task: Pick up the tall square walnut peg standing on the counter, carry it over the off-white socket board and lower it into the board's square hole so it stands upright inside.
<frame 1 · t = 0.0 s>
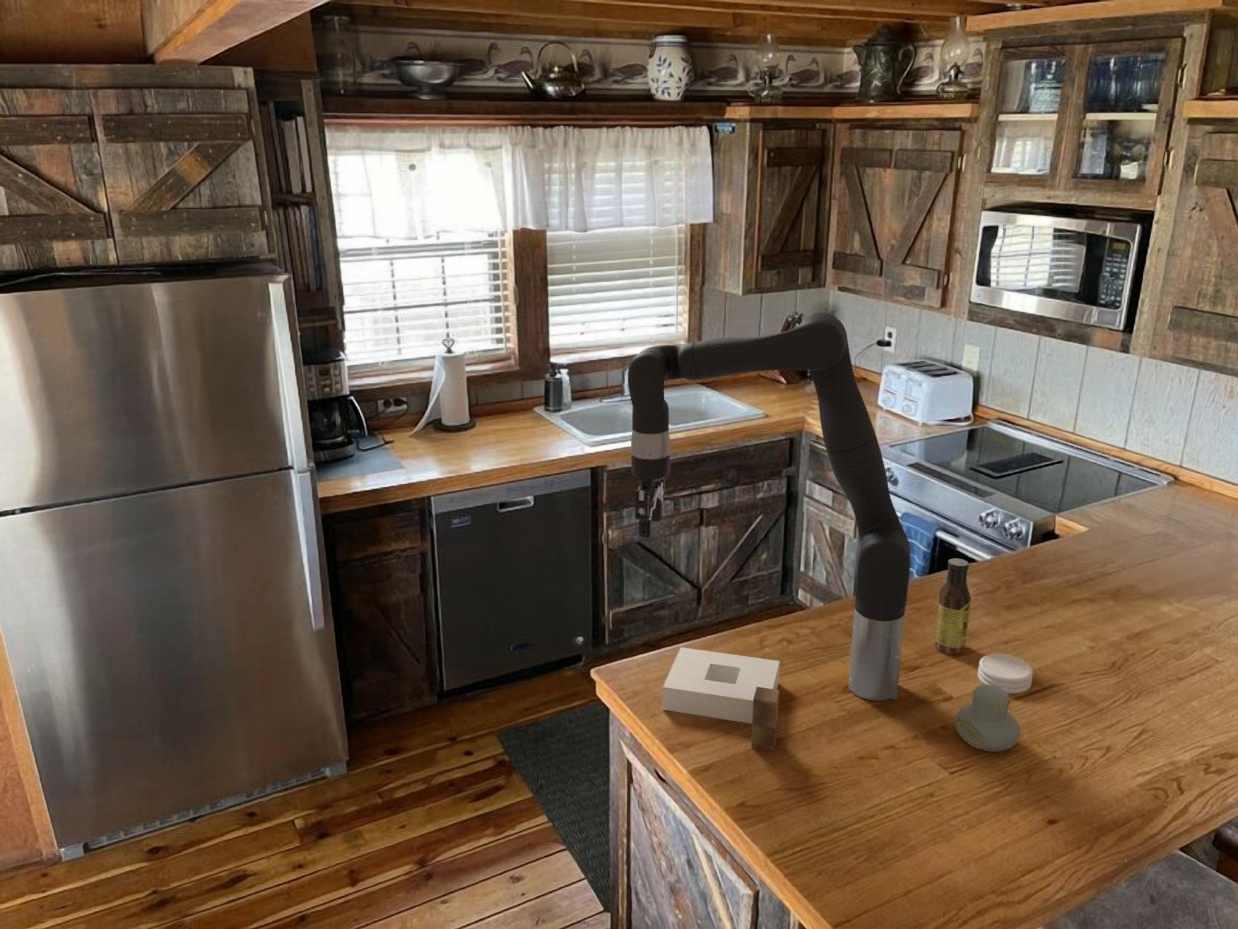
hand: (650, 528, 185), 29 cm above the counter, tool pointing down, fingers open, 8 cm apart
peg: (764, 742, 167), on the counter
air freshener: (985, 742, 167), on the counter
socket board: (721, 696, 181), on the counter
coaster: (1003, 681, 185), on the counter
sauce bottle: (949, 648, 197), on the counter
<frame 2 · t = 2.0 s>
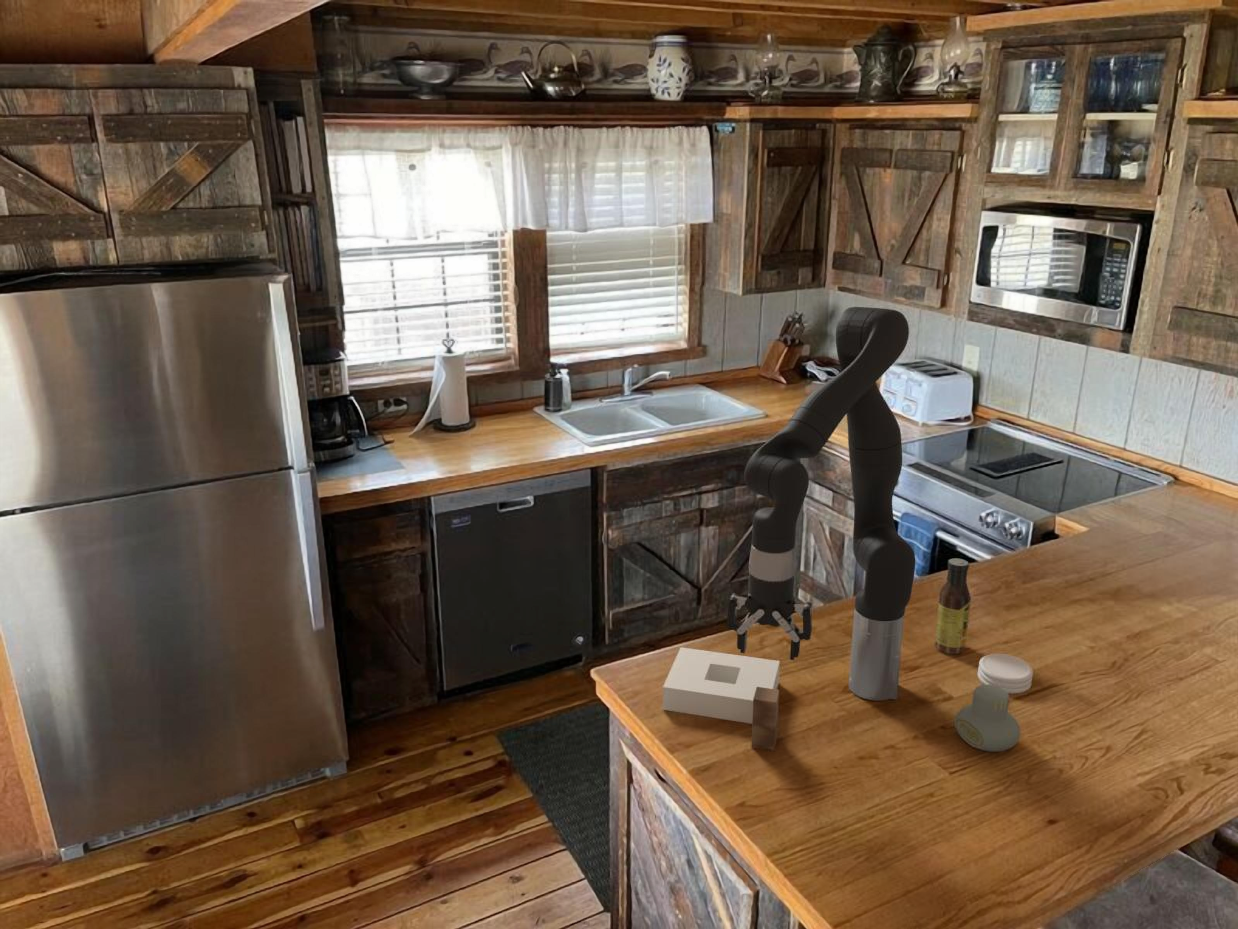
hand: (767, 654, 161), 18 cm above the counter, tool pointing down, fingers open, 8 cm apart
nothing on the counter moved.
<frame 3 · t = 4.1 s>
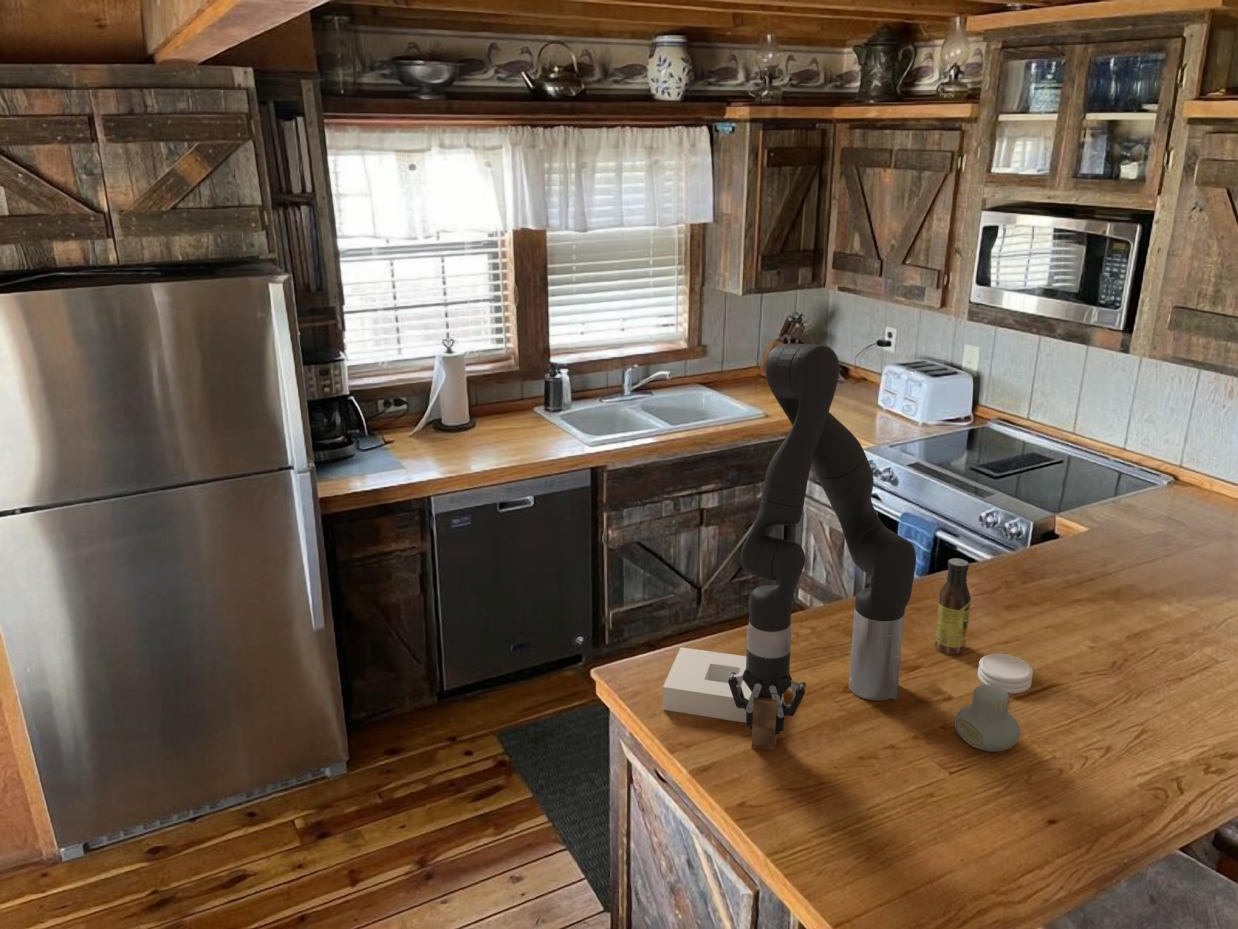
hand: (764, 729, 166), 3 cm above the counter, tool pointing down, fingers closed on peg, 4 cm apart
peg: (764, 742, 167), on the counter, touching gripper
everything else where it was.
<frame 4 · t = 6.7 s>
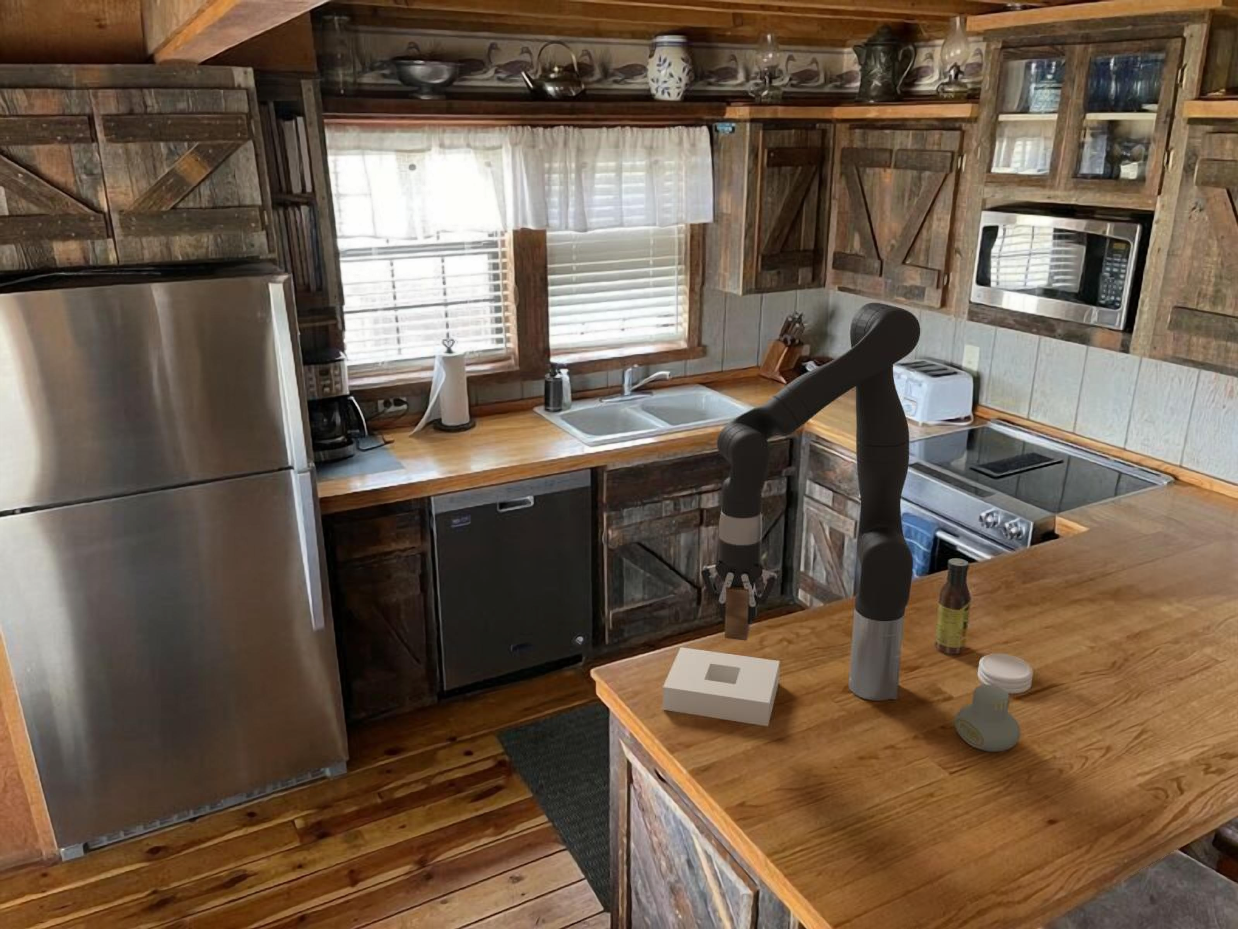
hand: (737, 620, 170), 19 cm above the counter, tool pointing down, fingers closed on peg, 4 cm apart
peg: (737, 634, 171), point 16 cm above the counter, touching gripper
everything else where it was.
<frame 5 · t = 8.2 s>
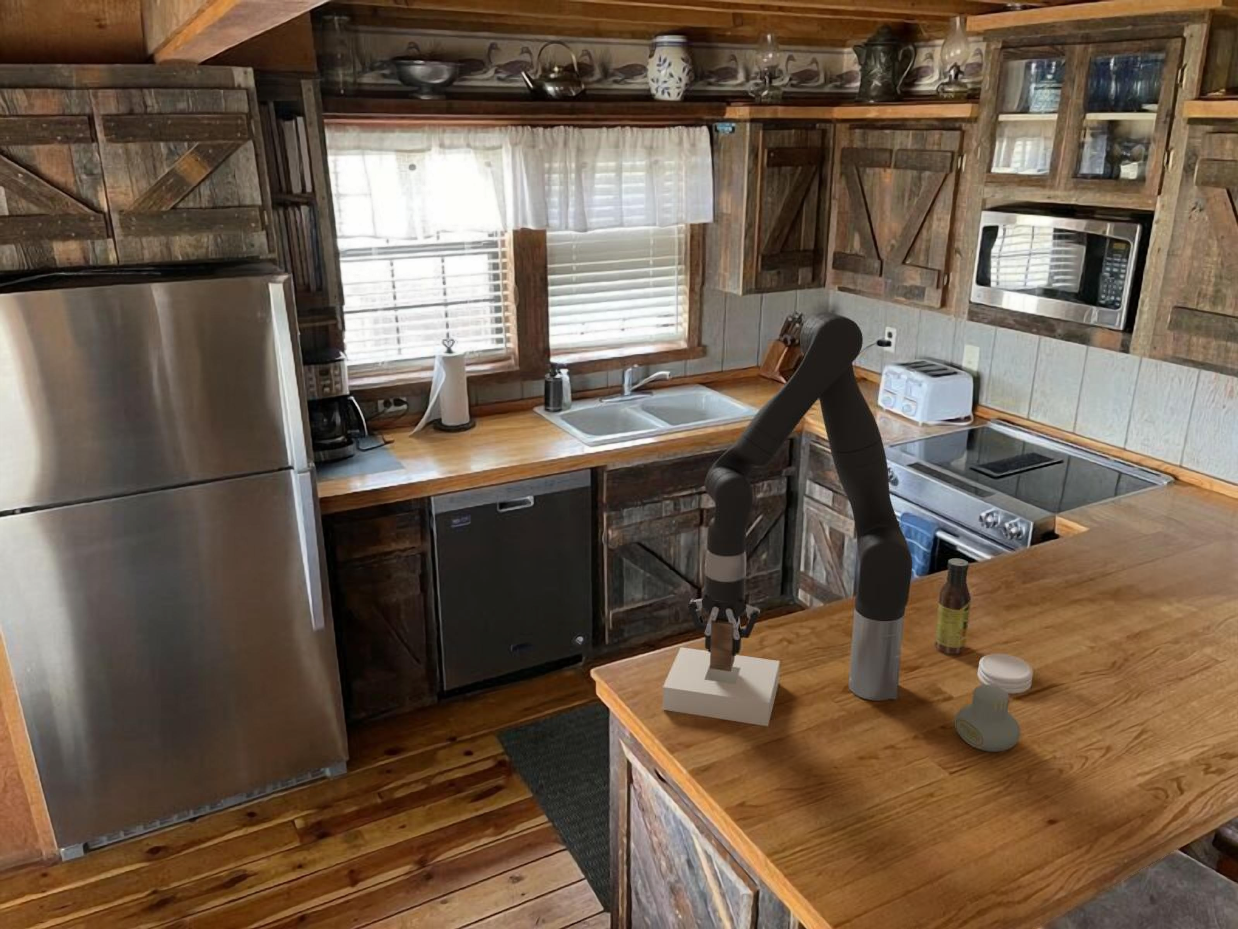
hand: (722, 651, 178), 10 cm above the counter, tool pointing down, fingers closed on peg, 4 cm apart
peg: (722, 664, 179), point 7 cm above the counter, touching gripper
everything else where it was.
when the fingers open (6 cm above the counter, at t = 9.3 s): peg drops 3 cm, resting in socket board.
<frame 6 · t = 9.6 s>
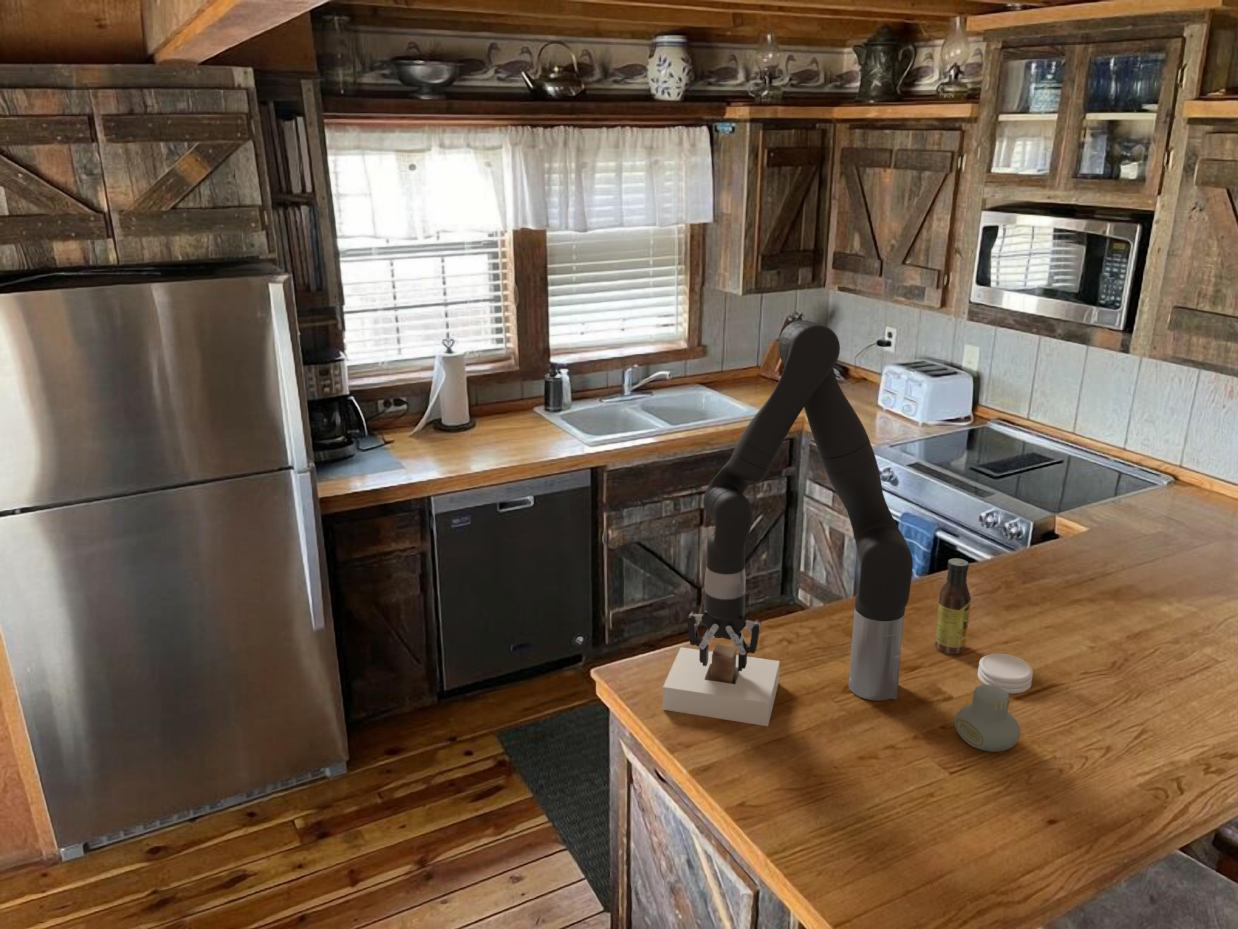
hand: (722, 666, 179), 7 cm above the counter, tool pointing down, fingers open, 6 cm apart
peg: (722, 696, 181), resting in socket board
everything else where it was.
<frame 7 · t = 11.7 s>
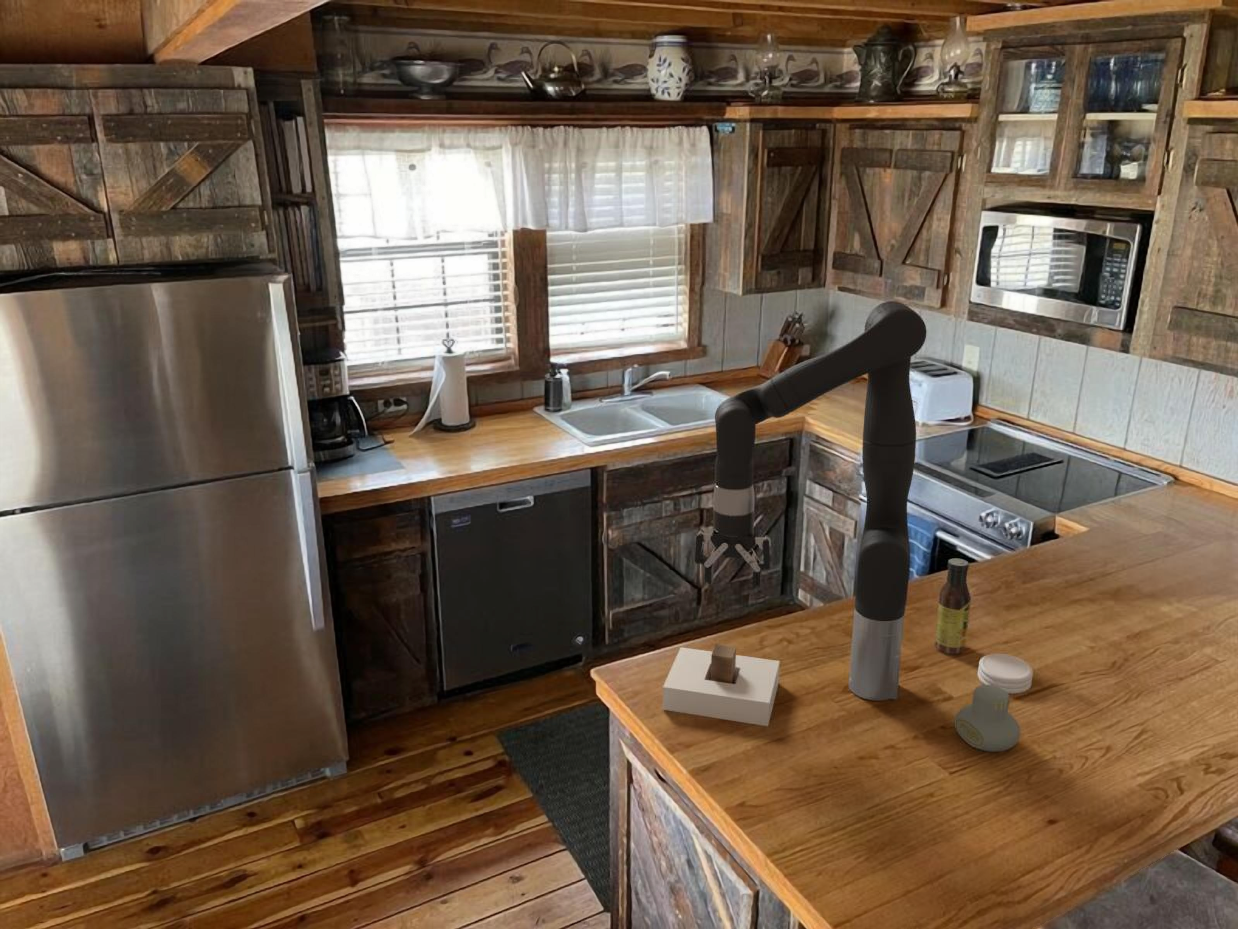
hand: (732, 585, 178), 22 cm above the counter, tool pointing down, fingers open, 8 cm apart
nothing on the counter moved.
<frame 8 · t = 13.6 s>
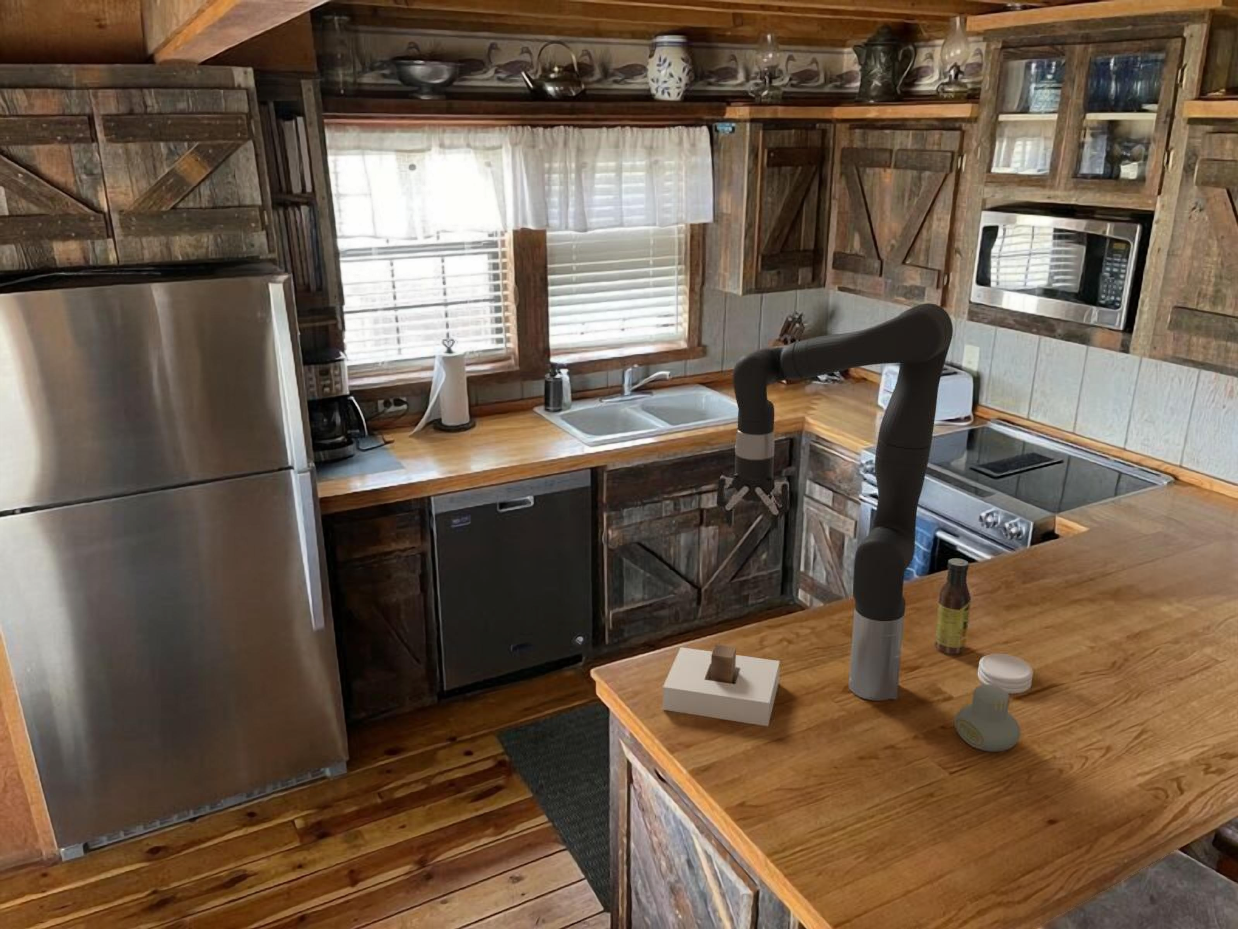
hand: (751, 527, 188), 28 cm above the counter, tool pointing down, fingers open, 8 cm apart
nothing on the counter moved.
at the end: peg 0.1 cm off-centre on the socket board, point 0.0 cm above the socket board's base; peg tilted 0°; the gripper is holding nothing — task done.
